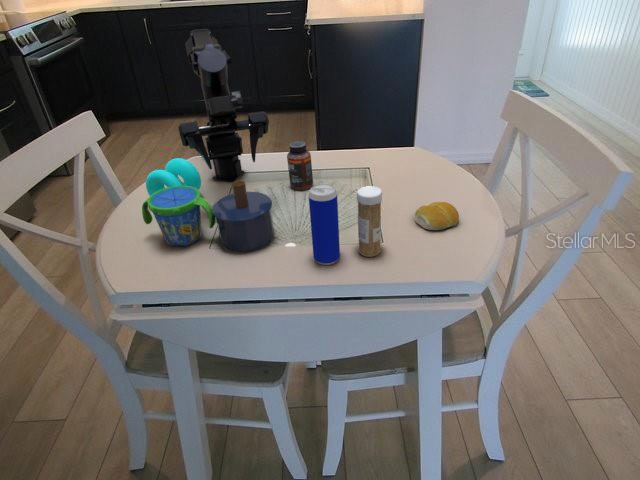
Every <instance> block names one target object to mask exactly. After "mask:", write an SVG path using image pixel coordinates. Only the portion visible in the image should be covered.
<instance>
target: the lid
mask: <svg viewBox="0 0 640 480" xmlns="http://www.w3.org/2000/svg"><path fill="white" fill-rule="evenodd" d="M231 188H232V192H233V193H232V194H231V193H230V194H228V195H226V196H223V197H222V198H220V199H219V200H217V201H216V202H215V203H214V204H213V205H212V207H211V208H212V212H213V215H214V216H215V218H217V219H219V220H221V221H225V222H233V223H237V222H246V221H251V220H254V219H257V218H259V217H262V216H263V215H265V214H266V213H268V212H269V211H270V209H271V210H272V207H273V201H272V198H271V197H270V196H269V195H267V194H265V193H262V192H257V191H247V187H246V182H245V181H244V180H235V181H233V182H231Z"/></svg>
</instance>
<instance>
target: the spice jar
mask: <svg viewBox="0 0 640 480" xmlns="http://www.w3.org/2000/svg"><path fill="white" fill-rule="evenodd" d="M382 200H383V191H382V189H381V188H379V187H378V186H375V185H374V186H373V185H366V186H362V187H359V188H358V189H357V191H356V201H357V235H358V236H357V237H358V249H357V250H358V253H359V254H360V255H361V256H363V257H367V258H372V257H376V256H378V255H380V254H381V252H382V248H381V238H382V216H381V212H382V211H381V210H382V207H381V206H382V205H381V204H382Z"/></svg>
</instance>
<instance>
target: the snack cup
mask: <svg viewBox="0 0 640 480" xmlns="http://www.w3.org/2000/svg"><path fill="white" fill-rule="evenodd" d="M201 208H202V209H203V211H205V212H206V213H207V215H208V218H209V221H208V222H209V229H213V227H214V226H215V224H216V217H215V216H214V215H213V212H212V208H213V207H212V206H211V204H210V203H209V202H208V201H207V200H206V199H205V198H203V197H202V196H201V192H200V189H199V190H198V189H196V188H194V187H191V186H173V187H165V189H161V190H159V191H157V192H155V193H154V194H152V195H151V196H149V197H148V198H147V199H145V200H144V202H143V203H142V206H141V215H142V219H143V222H144V223H145V224H146V225H150V224H151V223H152V222H153V216H154V219H155V221H156V223H157V224H158V226H159V229H160V231H161V233H162V235H163V238H164V240H165V241H166V243H167V244H168V245H170V246H177V247H178V246H188V245H189V244H193V243H194V242H196V241H197V240H199V239H200V238H201V234H202V219H201ZM151 212H152V213H151ZM152 214H153V216H152Z"/></svg>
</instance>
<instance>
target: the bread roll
mask: <svg viewBox="0 0 640 480" xmlns="http://www.w3.org/2000/svg"><path fill="white" fill-rule="evenodd" d="M459 218H460V213H459V212H458V209H457V208H456V207H455V206H454V205H453V204H451V203H450V202H447V201H435V202H431V203H429V204H427V205H426V204H425V205H421V206H419V207H418V208H417V209H416V211H415V212H414V220H415V222H416V224H418V225H419V226H420V227H422V228H423V229H425V230H429V231H440V230H444V229H447V228H450V227H454V226H456V225H457V224H458V223H459V220H460V219H459Z"/></svg>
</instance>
